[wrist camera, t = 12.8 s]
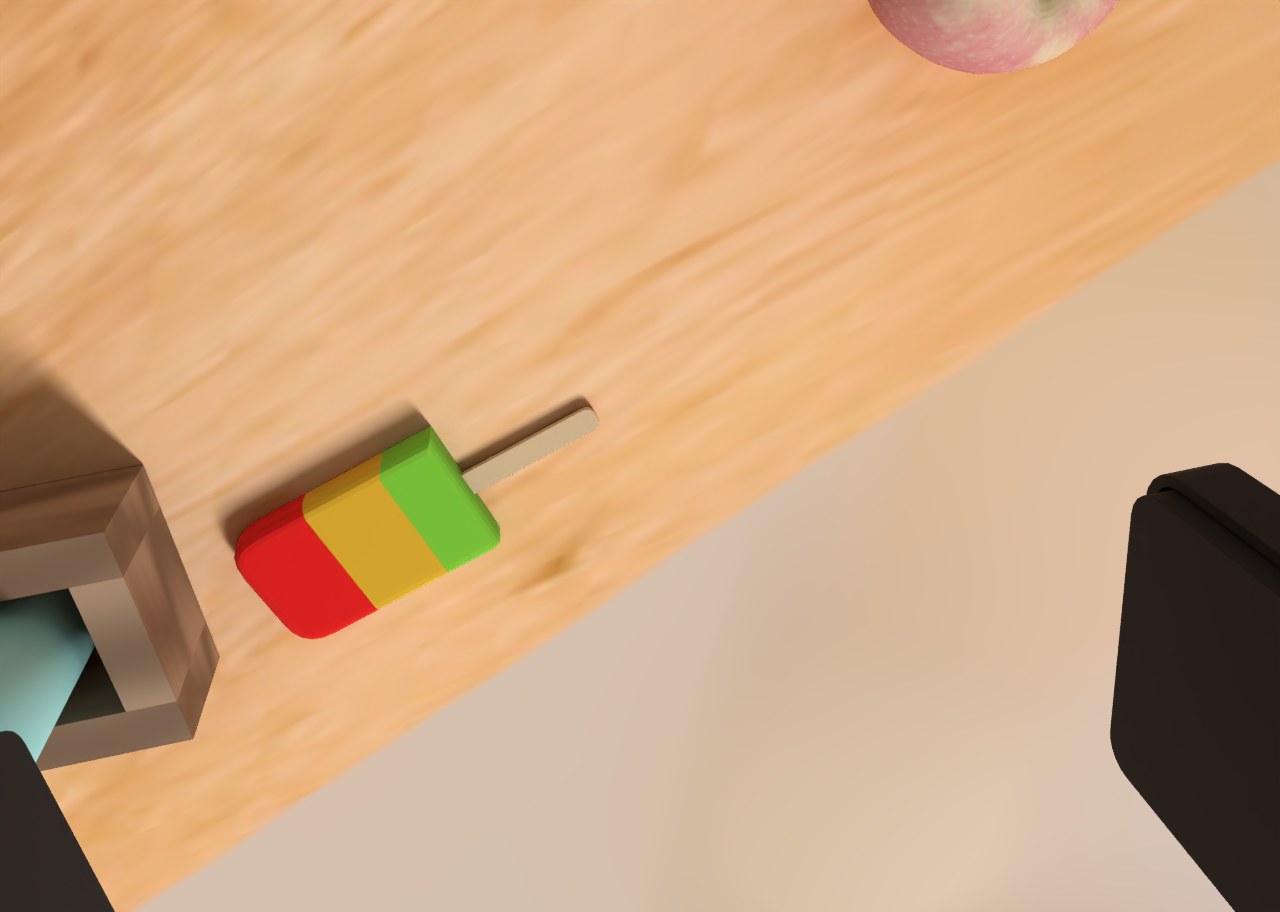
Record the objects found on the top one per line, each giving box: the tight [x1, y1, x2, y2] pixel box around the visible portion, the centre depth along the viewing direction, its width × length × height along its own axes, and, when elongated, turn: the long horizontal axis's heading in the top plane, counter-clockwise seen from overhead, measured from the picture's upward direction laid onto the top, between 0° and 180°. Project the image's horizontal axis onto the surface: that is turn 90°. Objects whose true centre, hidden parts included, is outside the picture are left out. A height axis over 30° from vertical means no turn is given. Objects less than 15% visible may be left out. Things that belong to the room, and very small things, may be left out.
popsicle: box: [234, 407, 599, 639], centre depth 41 cm, size 6×15×2 cm, turn 117°
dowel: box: [0, 588, 95, 763], centre depth 36 cm, size 4×4×11 cm
